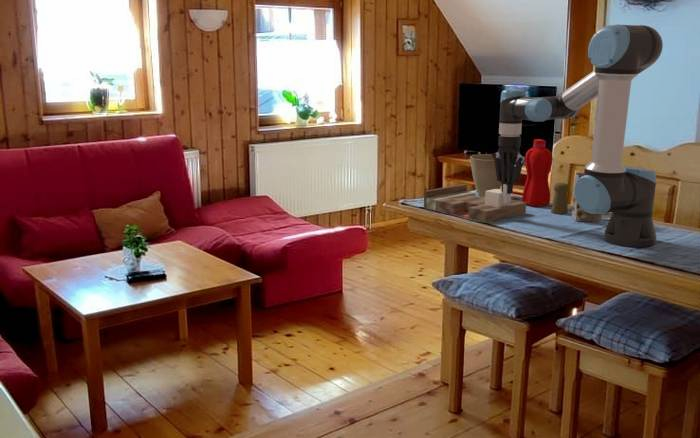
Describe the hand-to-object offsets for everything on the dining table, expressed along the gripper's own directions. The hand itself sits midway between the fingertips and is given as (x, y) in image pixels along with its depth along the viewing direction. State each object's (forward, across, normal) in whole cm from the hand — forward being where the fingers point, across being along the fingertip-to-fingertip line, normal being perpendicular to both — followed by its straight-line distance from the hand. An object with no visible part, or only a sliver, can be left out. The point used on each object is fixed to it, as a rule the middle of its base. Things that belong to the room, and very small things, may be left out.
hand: (506, 202), depth 250 cm
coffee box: (+6, -20, -20) cm, 29 cm away
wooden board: (+6, +15, 0) cm, 16 cm away
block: (+2, +4, 0) cm, 4 cm away
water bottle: (+6, +6, -27) cm, 29 cm away
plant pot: (+6, +29, -24) cm, 38 cm away
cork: (+6, -7, -22) cm, 24 cm away
